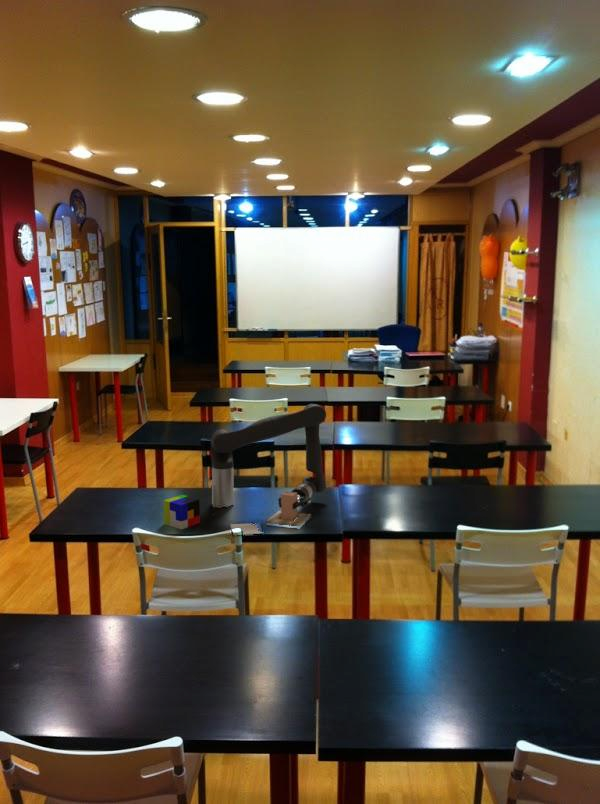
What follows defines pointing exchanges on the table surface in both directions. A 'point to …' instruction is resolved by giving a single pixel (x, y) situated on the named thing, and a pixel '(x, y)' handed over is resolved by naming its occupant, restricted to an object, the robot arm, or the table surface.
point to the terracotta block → (288, 506)
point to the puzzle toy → (181, 511)
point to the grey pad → (247, 528)
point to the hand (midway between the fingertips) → (287, 506)
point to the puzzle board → (277, 520)
